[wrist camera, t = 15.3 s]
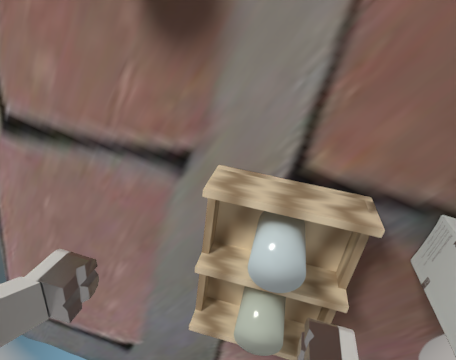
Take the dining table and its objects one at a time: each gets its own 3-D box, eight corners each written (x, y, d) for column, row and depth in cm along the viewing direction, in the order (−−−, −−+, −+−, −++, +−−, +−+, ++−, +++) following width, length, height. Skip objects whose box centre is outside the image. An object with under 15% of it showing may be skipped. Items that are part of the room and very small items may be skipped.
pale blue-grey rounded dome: (310, 211, 39) (312, 256, 31) (299, 249, 42) (298, 299, 34) (262, 200, 40) (252, 242, 32) (254, 238, 43) (243, 284, 35)
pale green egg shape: (290, 277, 45) (287, 330, 37) (281, 306, 48) (277, 361, 40) (248, 266, 46) (237, 316, 38) (242, 296, 48) (230, 347, 41)
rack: (371, 197, 38) (385, 230, 31) (318, 325, 49) (320, 368, 43) (218, 164, 40) (203, 189, 34) (202, 293, 52) (188, 329, 46)
